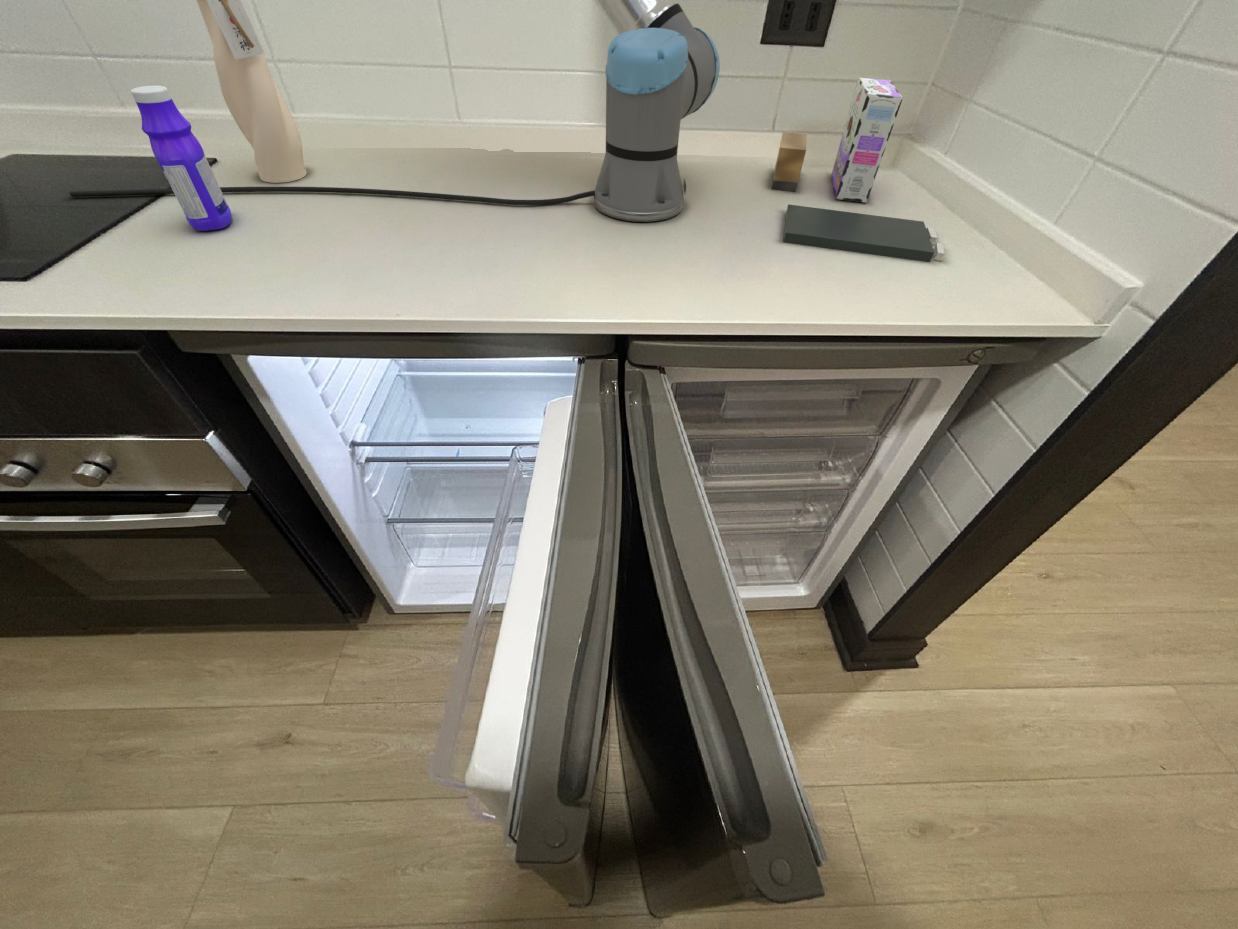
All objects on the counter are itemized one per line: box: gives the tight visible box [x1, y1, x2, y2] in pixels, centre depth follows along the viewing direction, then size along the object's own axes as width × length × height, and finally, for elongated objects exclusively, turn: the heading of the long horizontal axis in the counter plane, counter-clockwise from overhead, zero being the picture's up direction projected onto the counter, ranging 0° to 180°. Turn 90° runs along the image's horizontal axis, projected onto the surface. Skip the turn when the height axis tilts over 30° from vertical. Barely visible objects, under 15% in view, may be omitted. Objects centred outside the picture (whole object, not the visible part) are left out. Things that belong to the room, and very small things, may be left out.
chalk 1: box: [926, 226, 939, 246], centre depth 89 cm, size 4×1×1 cm
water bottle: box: [196, 0, 308, 184], centre depth 89 cm, size 10×9×28 cm
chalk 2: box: [933, 241, 945, 262], centre depth 85 cm, size 4×1×1 cm
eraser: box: [771, 131, 808, 193], centre depth 103 cm, size 4×10×7 cm, turn 166°
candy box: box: [830, 77, 904, 204], centre depth 98 cm, size 14×6×16 cm, turn 168°
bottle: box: [130, 85, 233, 232], centre depth 78 cm, size 7×6×17 cm
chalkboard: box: [783, 203, 934, 263], centre depth 89 cm, size 22×12×2 cm, turn 76°
